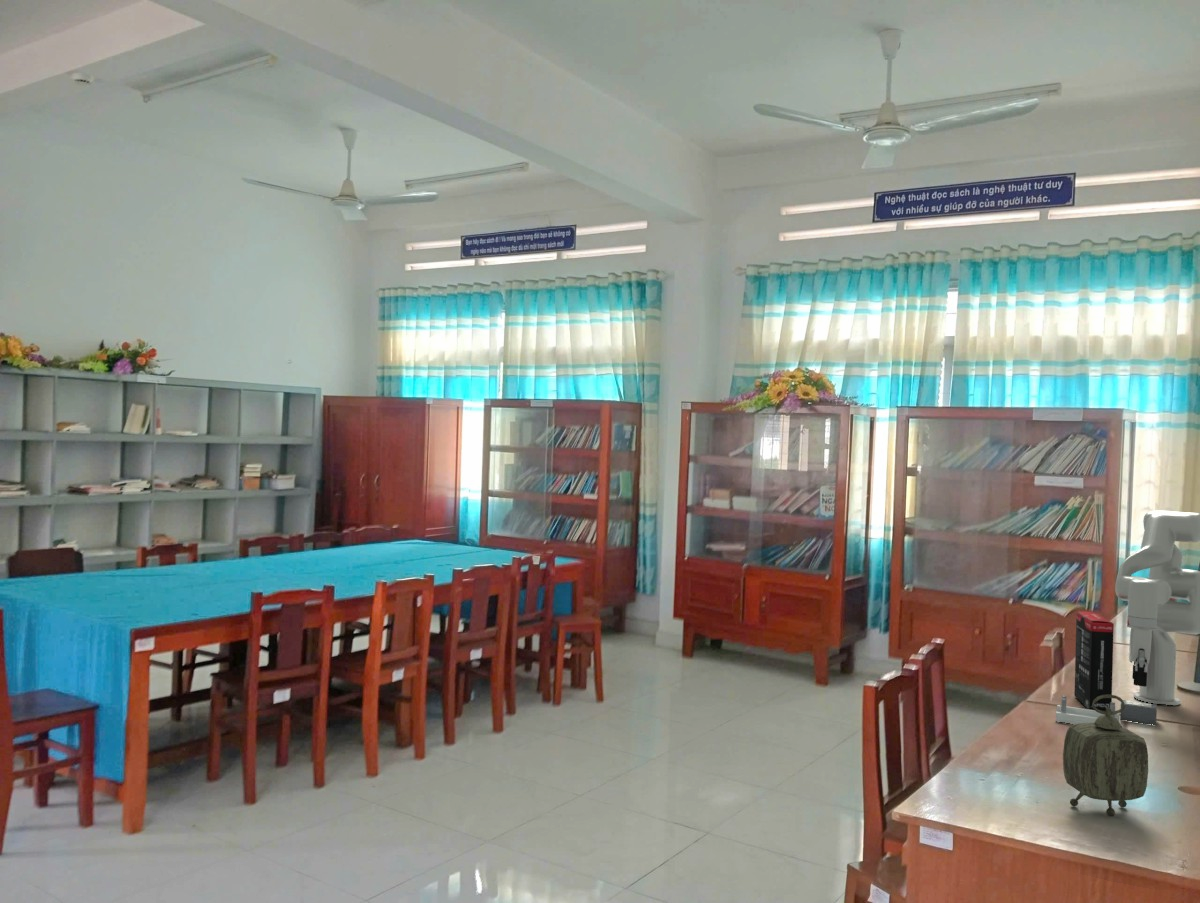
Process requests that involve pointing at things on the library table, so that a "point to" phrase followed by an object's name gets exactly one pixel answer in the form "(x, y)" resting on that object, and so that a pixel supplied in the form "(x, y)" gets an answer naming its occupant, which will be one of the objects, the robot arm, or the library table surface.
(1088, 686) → the graphics card box
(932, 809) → the library table surface
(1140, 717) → the block
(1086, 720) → the white and grey device
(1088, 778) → the tabletop clock
